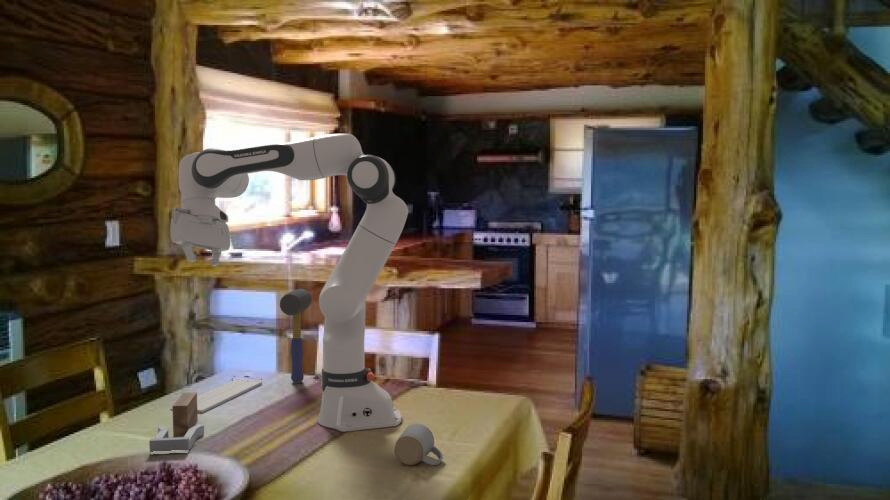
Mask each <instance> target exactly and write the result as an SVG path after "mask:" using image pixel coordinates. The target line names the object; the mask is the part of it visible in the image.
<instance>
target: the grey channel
mask: <svg viewBox="0 0 890 500" xmlns="http://www.w3.org/2000/svg"><path fill="white" fill-rule="evenodd" d="M202 436H205V425H204V424H199V423H198V424H195V426H194V427H192V428H190V429H189V430H188V431H187V433H186V434H185V436H179V437H169V429H168V427H166V425H161V426H157V434H156V436H155V437H154V438H150V439H149V453H150V452H153V451H171V450H189V449H190V450H191V449H192V447H193V446H192V445H195V444H194V443H195V442H196V440H197V439H198V438H201V437H202Z"/></svg>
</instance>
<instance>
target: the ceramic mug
mask: <svg viewBox="0 0 890 500" xmlns="http://www.w3.org/2000/svg"><path fill="white" fill-rule="evenodd" d="M434 445H435V437H434V434H433V432H432V431H431V429H430V428H429V427H428V426H426V425H424V424H423V423H418V422H417V423H411V424H409V425H408V426H407V427H405V429H404V431H402V433H401V434H400V436H399V437H398V438H397V440H396V442H395V445H394V454H395V456H396V458H397V460H398V461H399V462H400V463H402V464H404V465H405V466H415V465H417V464H419V463H420V462H424V463H425V464H428V465H430V466H439V465H440V464H442V461H443V459H444V454H443V453H442V451H440V450H439V448H438V447H436V446H434ZM430 453H433V454H434V455H435V457H437V458H438V459H435V458H431V457H430V456H428V455H429V454H430Z"/></svg>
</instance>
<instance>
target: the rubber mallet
mask: <svg viewBox="0 0 890 500" xmlns="http://www.w3.org/2000/svg"><path fill="white" fill-rule="evenodd" d="M312 300H313V298H312V295H311V293H310V292H309V291H308V290H306V289H304V288H299V289H294V290H291V291H289V292H287V293H286V294H284V295H283V296H282V297H281V298H280V301H279V307H280V308H279V309H280V311H281V312H282V313H283V314H286V315H287V316H292V338H291V342H290V345H291V346H290V357H291V374H290V375H291V376H290V380H291V381H292V382H293V383H294V384H301V383H302V382H303V380H304V379H305V376H304V373H303V357H304V350H303V349H304V348H303V346H304V345H303V340H302V332H301V331H302V328H301V326H302V325H301V313H302V312H305V311H306V310H308V308H309V307H310V306H311V304H312Z"/></svg>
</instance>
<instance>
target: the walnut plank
mask: <svg viewBox="0 0 890 500" xmlns="http://www.w3.org/2000/svg"><path fill="white" fill-rule="evenodd" d="M197 397H198V392H197V391H196V392H195V391H193V392H192V391H191V392H188V391H187V392H181V395H180V396H179V397H178V398H177V399H176V401H175V402H174V404H173V405H172V407H171V408H173V410H172V427H173V428H172V434H173V437H172V438H176V437H177V436H178V437H184V436H185V434H186V433H187V431H188V430H189V429H190V428H192V427H194V426H196V425H197V423H198V421H199V420H198V419H199V418H198V413H197Z"/></svg>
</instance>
